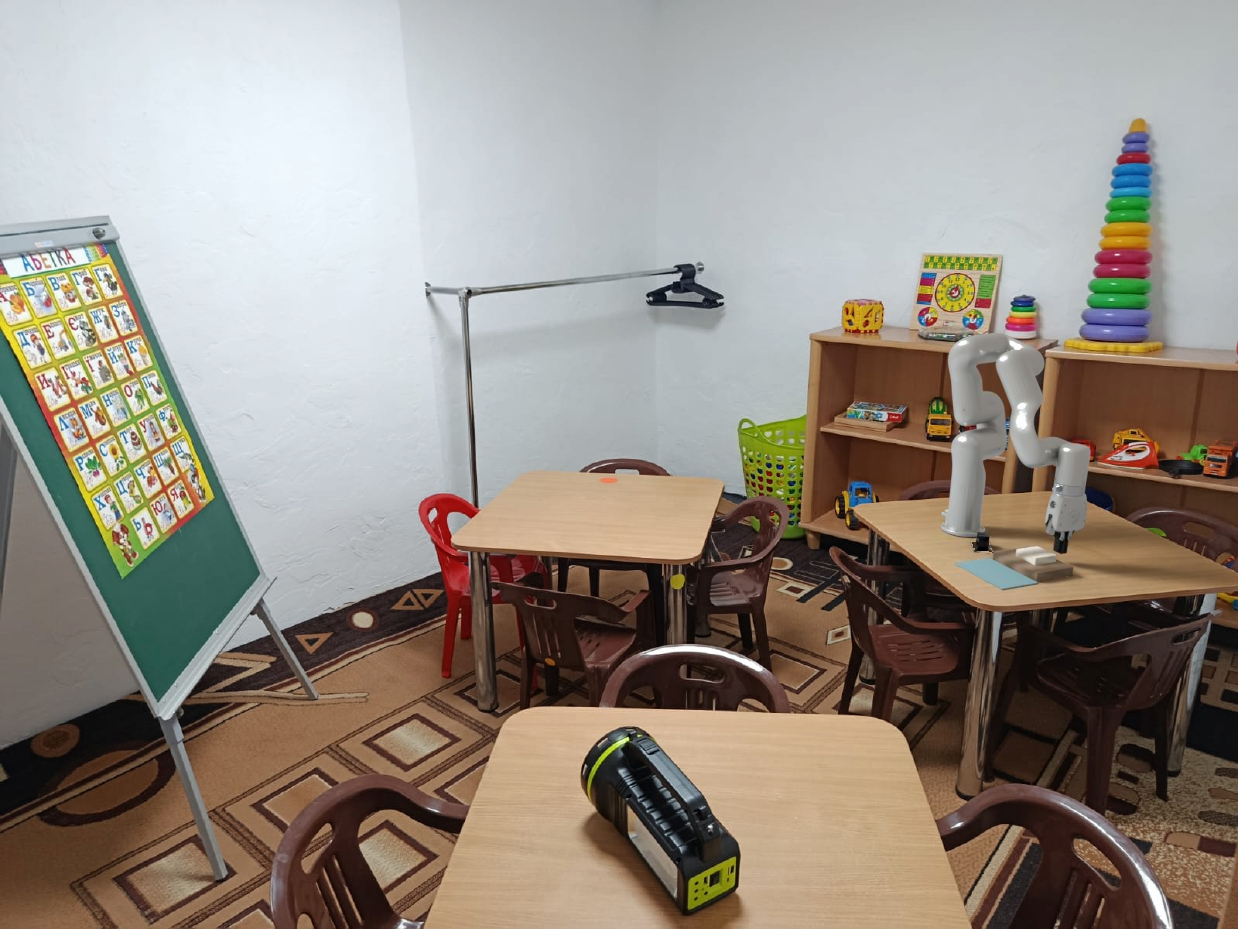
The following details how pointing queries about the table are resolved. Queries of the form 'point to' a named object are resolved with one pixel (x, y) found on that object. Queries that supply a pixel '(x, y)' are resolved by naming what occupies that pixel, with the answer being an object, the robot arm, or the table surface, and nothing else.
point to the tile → (1036, 555)
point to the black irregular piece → (982, 542)
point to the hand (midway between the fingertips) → (1059, 552)
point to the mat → (996, 573)
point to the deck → (1032, 566)
